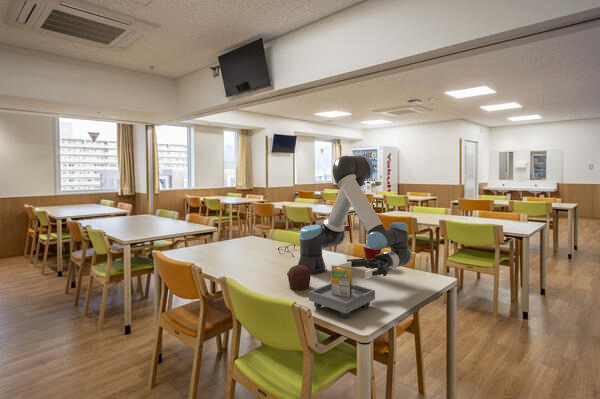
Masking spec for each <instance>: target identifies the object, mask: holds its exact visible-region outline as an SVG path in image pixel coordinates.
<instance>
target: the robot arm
mask: <svg viewBox="0 0 600 399" xmlns="http://www.w3.org/2000/svg"><path fill="white" fill-rule="evenodd" d="M374 170H375V168H374V164H373V162H372V160H371V159H370V158H369V157H368V156H365V155H342V156H340V157H338V158H337V159H336V160H335V161H334V163H333V165H332V170H331V171H332V177H333V180H334V182H335V184H336V185H337V187H338V188H339V191H338V193H337V196H336V199H335V201H334V204H333V206H332V208H331V211H330V214H329V216H328V218H326V219H325V220H323V223H322V226H321V225H319V224H312V225H306V226H303V227H301V228H300V230H299V245H300V246H299V247H300V248H299V254H300V255H299V260H298V263H297V265H303V266H305V267H307V268H308V269H309V270H310V271H311V273H312V274H311V275H318V274H323V273H325V272H326V269H327V267H326V266H327V265H326V263H325V261H324V257H323V249H327V248H334V247H337V246H339V245H341V244H343V242H344V241H345V238H346V230H345V225H344V223H345V221H346V219H347V216H348V215H349V212H350V209H351V207H352V208H353V211H354V212H355V213H356V215H357V217H358V220H359V221H360V223H361V224H362V225H363V228H364V229H365V231H366V233H367V234H368V235H367V238H366V241H367V244H368V245H369V247H370V248H372V249H374V250H378V249H381V250H383V249H386V248H390V250H388V251H385V252H380V254H378V255H376V256H375V258H374V259H368V258H365V257H363V258H353V259H352V258H349V259H346V262H342V263H339V265H338V266H345V267H349V270H352V268H366V269H369V270H365V271H364V279H367V280H368V279H370V278H373V277H377V276H383V277H386V276H387V275H388V273H389V272H390V271H392V270H393V269H396V268H399V267H402V266H405V265H408V264H409V263H411V262H412V260H413V258H414V256H413V253H412V250H411V249H410V248H409V229H408V228H409V226H408V223H406V222H400V221H394V222H392V223H390V226H389V228H386V227H385V225H384V224H383V223H382V220H381V218H379V216H378V214H377V212H376V211H375V209H374V208H373V205H372V204H371V203H370V201H369V200H368V197H367V196H366V194H365V193H364V191H363V190H362V188H361V187H363V186H364V185H365V182H366V180H369V179H370V178H371V177H372V176H373V175H374ZM367 264H368V266H367ZM338 269H344V268H341V267H339V268H338Z"/></svg>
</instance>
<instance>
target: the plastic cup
mask: <svg viewBox="0 0 600 399" xmlns="http://www.w3.org/2000/svg"><path fill="white" fill-rule="evenodd" d="M362 247H363V253H364V258H368V259H374V258H375V256H376V255H378V254H381V253H382V249H378V250H374V249H372V248H370V247H369V245H368V243H363V244H362ZM367 266H368V264H367Z"/></svg>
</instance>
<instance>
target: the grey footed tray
mask: <svg viewBox="0 0 600 399" xmlns="http://www.w3.org/2000/svg"><path fill="white" fill-rule="evenodd" d="M375 299H376V290H375V289H371V288H368V287H364V286H360V285H357V284H353V283H352V295H351V296H350V297H347V296H340V295H332V282H331V283H328V284H325V285H322V286H320V287H317V288H314V289H312V290H310V291H308V301H310V302H312V303H313V306H314V308H316V309H321V308H322V307H323V306H324V307H326V308H330V309H333V310H334V311H338V312H340V317H341V318H344V319H348V318H349V316H350V312H352V311H354V310H356V309H358V308H360V307H363V308H369V307H370V305H371V304H370V303H371V302H373V301H375ZM320 307H321V308H320ZM347 317H348V318H347Z"/></svg>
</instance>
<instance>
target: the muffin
mask: <svg viewBox="0 0 600 399" xmlns="http://www.w3.org/2000/svg"><path fill="white" fill-rule="evenodd" d="M286 275H287V279H288V284H289V289H290V290H292V291H295V292H296V291H297V292H302V291H303V292H304V291H307V290H309V289H310V285H311V277H312V275H313V274H312V273H311V271H310V270H309V269H308V268H307V267H305V266H303V265H298V264H297V265H293V266H292V267H290V268H289V269H288V271H287V273H286Z"/></svg>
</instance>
